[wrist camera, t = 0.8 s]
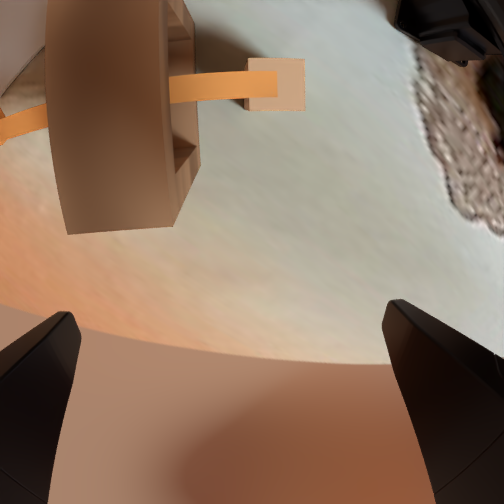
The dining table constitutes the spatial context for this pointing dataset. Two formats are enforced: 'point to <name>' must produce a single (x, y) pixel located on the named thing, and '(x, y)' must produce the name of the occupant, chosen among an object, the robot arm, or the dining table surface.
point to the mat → (20, 36)
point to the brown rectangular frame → (120, 111)
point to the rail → (207, 92)
